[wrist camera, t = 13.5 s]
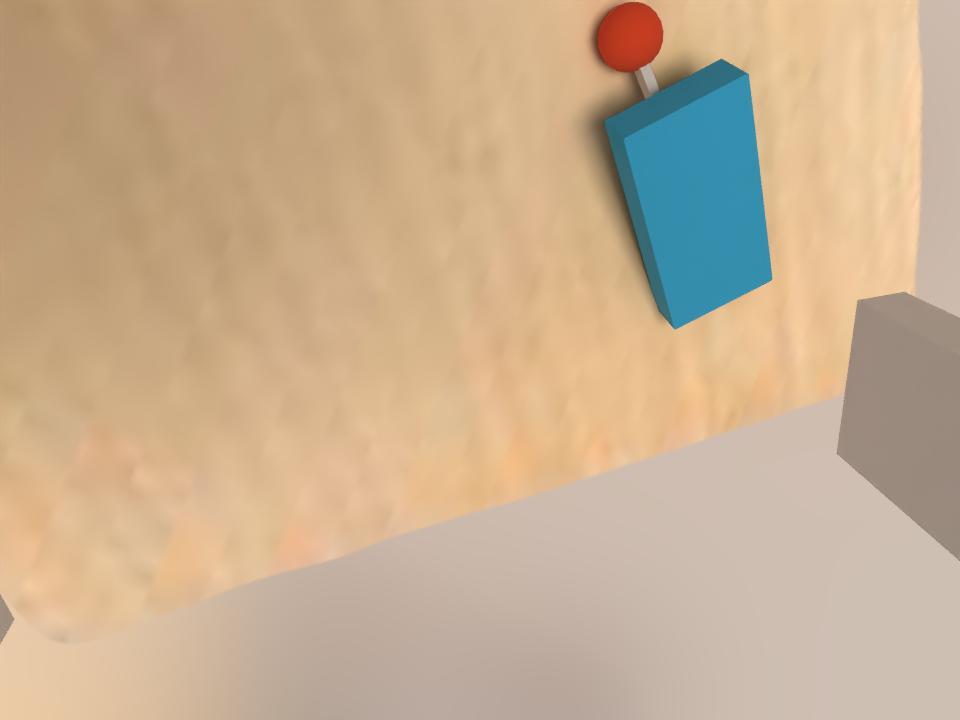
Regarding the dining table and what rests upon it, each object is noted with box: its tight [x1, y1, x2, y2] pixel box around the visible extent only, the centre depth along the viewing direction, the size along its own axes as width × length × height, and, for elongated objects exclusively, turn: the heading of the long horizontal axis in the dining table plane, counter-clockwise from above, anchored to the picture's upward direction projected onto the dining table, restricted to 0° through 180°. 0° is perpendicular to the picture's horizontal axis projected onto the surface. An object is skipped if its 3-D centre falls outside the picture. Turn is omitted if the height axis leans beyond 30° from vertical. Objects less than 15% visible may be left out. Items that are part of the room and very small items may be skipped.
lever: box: [598, 2, 772, 329], centre depth 41 cm, size 7×7×18 cm
